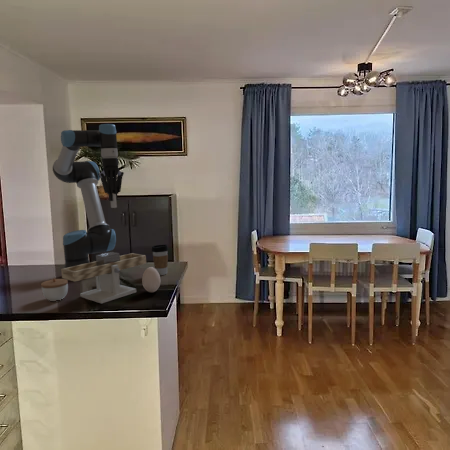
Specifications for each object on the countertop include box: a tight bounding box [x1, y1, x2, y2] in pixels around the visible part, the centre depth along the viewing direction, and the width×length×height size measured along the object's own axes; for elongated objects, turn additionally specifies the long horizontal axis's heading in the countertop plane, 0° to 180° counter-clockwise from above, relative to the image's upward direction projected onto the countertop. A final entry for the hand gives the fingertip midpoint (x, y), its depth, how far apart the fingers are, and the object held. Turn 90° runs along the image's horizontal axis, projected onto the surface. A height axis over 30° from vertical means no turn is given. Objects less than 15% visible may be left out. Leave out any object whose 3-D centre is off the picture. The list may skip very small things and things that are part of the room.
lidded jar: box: [40, 277, 69, 302], centre depth 178 cm, size 11×11×9 cm
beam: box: [60, 252, 147, 282], centre depth 180 cm, size 36×10×4 cm, turn 140°
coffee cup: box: [151, 244, 169, 276], centre depth 212 cm, size 8×8×15 cm
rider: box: [95, 251, 121, 266], centre depth 181 cm, size 8×6×5 cm
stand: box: [80, 265, 137, 304], centre depth 181 cm, size 18×16×14 cm
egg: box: [141, 266, 162, 293], centre depth 182 cm, size 8×8×11 cm
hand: (113, 207), depth 198 cm, fingers closed
